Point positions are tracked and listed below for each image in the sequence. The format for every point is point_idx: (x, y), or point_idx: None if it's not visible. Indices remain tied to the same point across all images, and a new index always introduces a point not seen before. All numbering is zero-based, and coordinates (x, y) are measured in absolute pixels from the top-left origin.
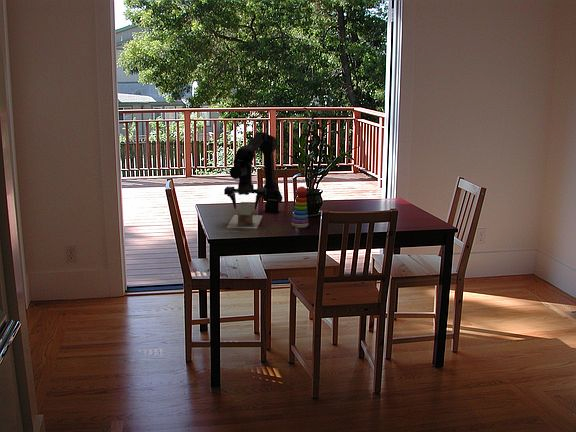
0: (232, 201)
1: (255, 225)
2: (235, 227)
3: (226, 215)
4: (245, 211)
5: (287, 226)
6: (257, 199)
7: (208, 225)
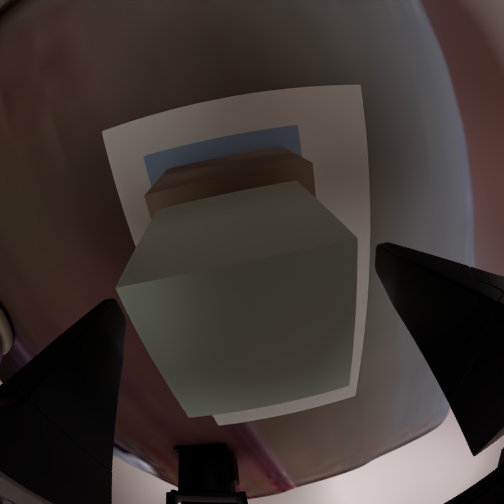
0: (486, 273)
1: (149, 221)
2: (290, 100)
3: (385, 385)
4: (220, 210)
5: (12, 298)
6: (3, 396)
7: (464, 177)
